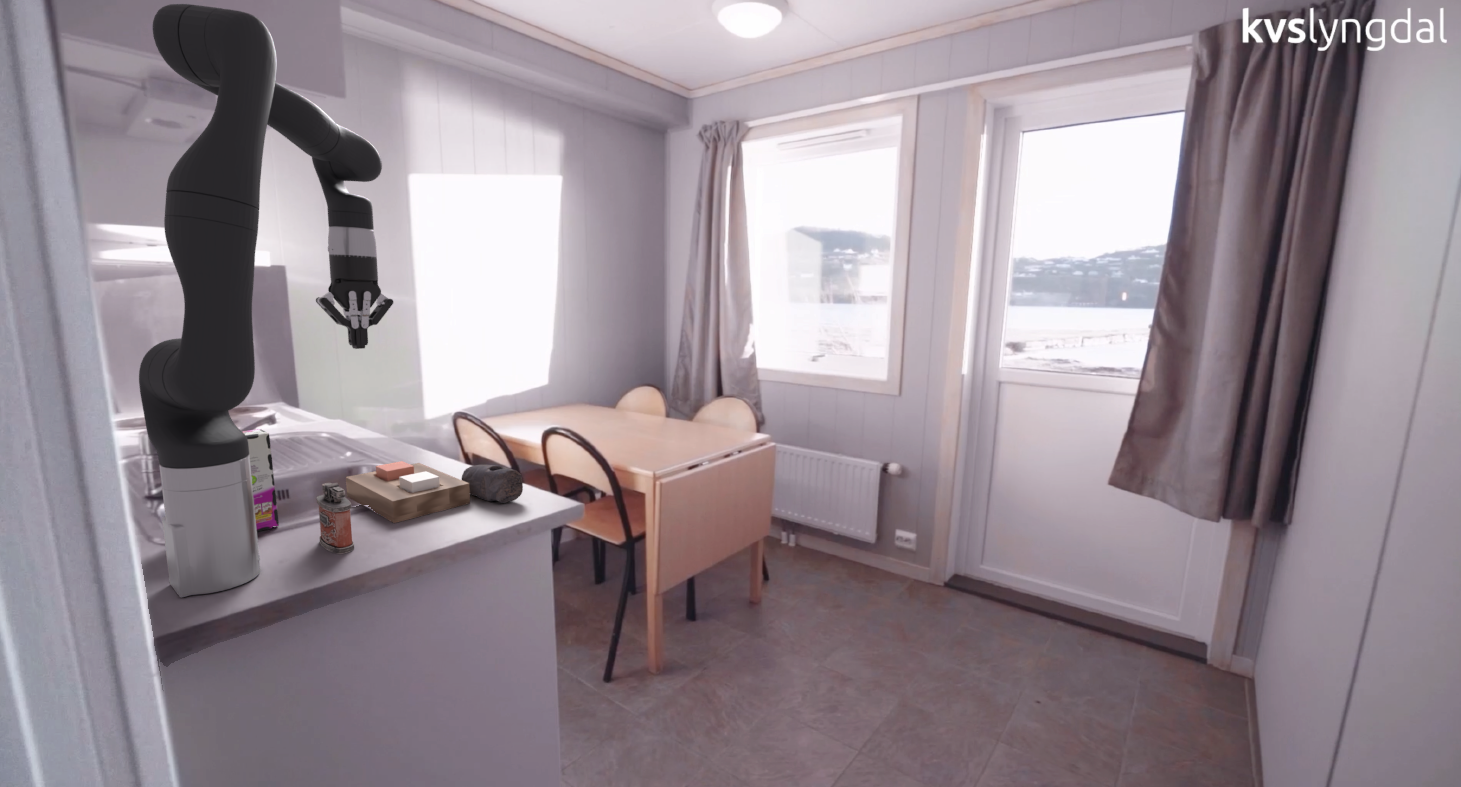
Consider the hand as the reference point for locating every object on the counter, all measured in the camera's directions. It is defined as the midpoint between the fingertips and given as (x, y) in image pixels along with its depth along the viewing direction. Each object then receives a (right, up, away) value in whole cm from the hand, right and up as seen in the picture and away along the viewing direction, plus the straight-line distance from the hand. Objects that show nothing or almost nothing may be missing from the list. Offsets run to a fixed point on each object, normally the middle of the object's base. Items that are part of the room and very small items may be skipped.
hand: (358, 348), depth 115 cm
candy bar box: (-11, -32, -15) cm, 37 cm away
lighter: (+8, -33, -18) cm, 38 cm away
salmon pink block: (+4, -27, +6) cm, 28 cm away
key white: (+12, -28, 0) cm, 30 cm away
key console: (+8, -29, +3) cm, 30 cm away
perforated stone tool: (+22, -30, +6) cm, 37 cm away
